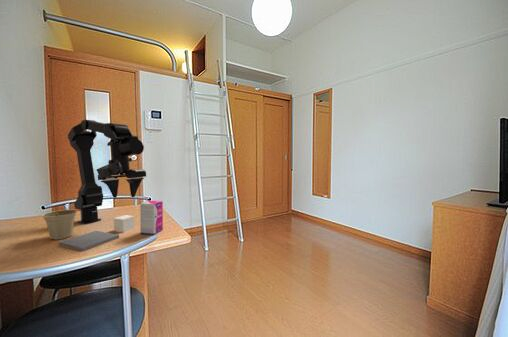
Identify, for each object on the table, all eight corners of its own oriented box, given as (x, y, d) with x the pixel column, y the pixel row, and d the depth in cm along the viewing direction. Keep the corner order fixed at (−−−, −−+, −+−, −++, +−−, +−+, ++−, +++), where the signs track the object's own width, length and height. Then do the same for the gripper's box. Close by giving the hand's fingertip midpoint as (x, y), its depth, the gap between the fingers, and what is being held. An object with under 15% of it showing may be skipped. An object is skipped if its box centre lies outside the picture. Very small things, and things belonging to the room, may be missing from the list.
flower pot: (49, 243, 77) (48, 218, 76) (39, 238, 82) (37, 214, 81) (82, 235, 85) (81, 211, 84) (71, 230, 90) (70, 208, 89)
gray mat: (58, 245, 76) (58, 242, 75) (96, 233, 87) (96, 230, 87) (82, 251, 71) (82, 247, 71) (119, 237, 82) (119, 235, 82)
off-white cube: (114, 231, 89) (113, 218, 89) (125, 227, 94) (125, 215, 94) (123, 232, 88) (122, 219, 87) (134, 228, 92) (134, 216, 92)
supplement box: (154, 235, 85) (153, 204, 84) (140, 234, 86) (138, 203, 85) (163, 230, 90) (162, 200, 89) (150, 229, 91) (149, 200, 91)
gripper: (81, 159, 85) (85, 201, 85) (119, 154, 79) (124, 200, 79) (109, 158, 95) (113, 196, 96) (145, 154, 89) (149, 195, 90)
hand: (123, 197), depth 90 cm, fingers open, 9 cm apart
